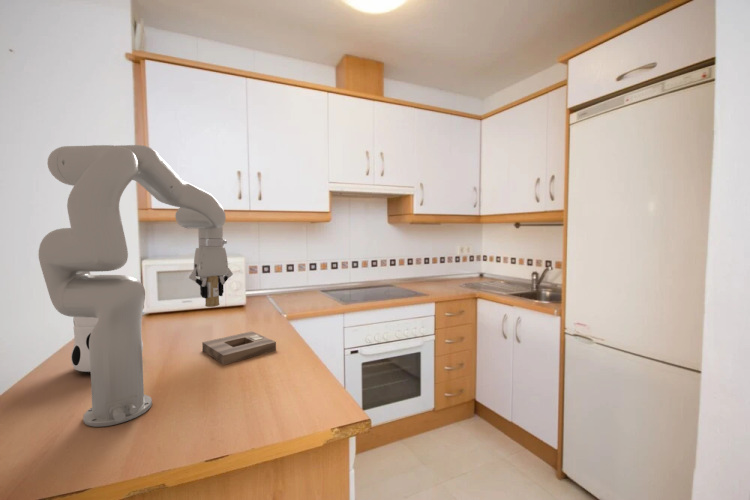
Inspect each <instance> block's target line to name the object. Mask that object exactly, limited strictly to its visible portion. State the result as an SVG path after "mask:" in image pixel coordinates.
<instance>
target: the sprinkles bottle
mask: <svg viewBox="0 0 750 500" xmlns="http://www.w3.org/2000/svg"><path fill="white" fill-rule="evenodd" d="M214 273H215V272H214ZM206 286H207V296H208V297H207V298H204V299H205V304H204V306H205V307H208V308H214V307H218V306H220V296H219V282H218V276H211V277H207V280H206Z"/></svg>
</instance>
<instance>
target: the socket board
mask: <svg viewBox="0 0 750 500" xmlns="http://www.w3.org/2000/svg"><path fill="white" fill-rule="evenodd" d="M201 343H202V352H204V353H205V354H207V355H208V356H210V357H211V358H213V359H215V360H216V361H218V363H220V364H221V365H223V366H224V365H228V364H232V363H235V362H238V361H242V360H246V359H249V358H252V357H253V358H254V357H257V356H261V355H264V354H269V353H272V352H275V351H277V341H275V340H273V339H270V338H268V337H266V336H264V335H261V334H259V333H256V332H254V331H252V330H251V331H247V332H243V333H239V334H233V335H228V336H223V337H220V338H216V339H211V340H210V339H209V340H206V341H202V342H201Z"/></svg>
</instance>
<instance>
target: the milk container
mask: <svg viewBox="0 0 750 500" xmlns="http://www.w3.org/2000/svg"><path fill="white" fill-rule="evenodd" d="M97 321H98V318H94V317H73V335H74V343H73V346H72V349H71V355H70V360H71V364H72V367H73V369H74V370H75V372H79V373H82V374H91V371H90V351H89V338H90V335H91V332H92V330H93V329H94V327H95V325H96V324H97ZM143 351H144V343H143V341H142V352H143Z"/></svg>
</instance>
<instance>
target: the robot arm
mask: <svg viewBox="0 0 750 500" xmlns="http://www.w3.org/2000/svg"><path fill="white" fill-rule="evenodd" d="M47 168H48V171H49V172H50V173H51V175H52V176H53V178H55V179H56V180H58V181H59V182H61V184H62V183H63V184H65V185H68V186H73V187H72V189H71V191H70V193H69V195H68V197H67V198H68V199H67V204H66V208H67V214H68V218H69V219H68V220H69V225H70V227H64V228H62V227H61V228H57V229H53V230H51V231H50V232H48V233H47V234H46V235H45V236H43V238H42V239H41V242H40V243H39V248H38V260H39V265H40V268H41V271H42V275H43V279H44V282H45V286H46V289H47V292H48V295H49V296H48V297H49V298H50V301H51V303H52V305H53V307H54V309H55V311H57V312H58V313H59V314H61V315H62V316H63V315H64V316H65V317H70V318H71V317H73V318H74V317H94V318H98V321H97V324H96V325H95V327H94V329H93V330H92V332H91V335H90V338H89V351H90V371H91V373H90V387H91V406H92V407H91V408H89V409H88V410H87V411H85V412H84V414H83V420H82V421H83V424H85V425H86V426H88V427H94V428H95V427H97V428H98V427H99V428H100V427H102V428H103V427H110V426H114V425H115V426H116V425H118V424H123V423H125V422H128V421H131V420H134V419H136V418H138V417H139V416H141V415H143V414H145V413H147V411H148V410H149V409H150V408H151V407H152V405H153V400H152V397H151V396H150V395H148V394H145V388H144V385H145V384H144V368H143V367H144V366H143V365H144V364H143V363H144V362H143V351H142V342H143V338H142V318H143V311H144V307H145V299H146V289H145V287H144V284H143V283H142V282H141V281H140V280H139V279H137V278H135V277H133V276H130V275H129V276H128V275H122V274H96V275H95V274H91V272H111V271H115V270H119V269H121V268H123V267H124V266H125V265H126V264H127V262H128V258H129V252H128V246H127V240H126V237H125V230H124V226H123V222H122V217H121V212H120V202H121V201H120V200H121V197H122V195H123V193H124V191H125V190H126V188H127V187H128V185H129V184H130V183H131V182H132V181H135V182H137V183H138V184H139V185H140V186H141V187H142V188H144V189H145V190H146V191H147V192H148V193H149V194H150V195H151V196H152V197H154V198H155V199H156V200H157V201H158V202H159V203H162V204H165V205H169V206H172V207H175V208H177V210H176V211H175V215H174V217H175V220H176V223H177V224H178V225H179V226H180V227H182V228H184V229H190V230H192V229H193V230H196V229H197V230H198V231H197V233H198V235H197V236H198V247H196V248H195V252H194V259H193V270H192V272H191V273H190V275H189V276H188V279H190V280H191V281H193V282H194V283H196V284H197V285H198V286H199V287H200V288H199V290H200V291H199V292H200V297H201V298H202V299H205V298H207V297H208V296H207V286H206V280H207V277H211V276H218V282H219V297H223V294H224V292H225V291H224V285H225V284H226V282H227V281H228V280H229V279H230V278H231V277H232V276H233V275H234V273H233V271H232V270H231V269H230V267H229V263H228V262H229V261H228V256H227V250H226V247H224V245H226V244H228V242H227V239H224V236H223V235H224V232H223V228H224V227H223V226H224V224H225V223H226V212H225V210H224V208H223V206H222V204H221V203H220V202H219V201H218V200H217V199H216V198H215V197H214V195H212V194H211V193H210V192H207V191H205V190H204V189H202V188H199V186H195V185H194V184H191V183H189V182H187V181H184V180H182V178H180V176H179V175H178V174H177V173H176V172H175V171H174V170H173V169H172V167H171V166H170V165H169V164H168V162H166V161H165V160H164V159H163V158H162V157H161V155H159V153H158V152H157V151H156V150H154V149H153V148H151V147H149V146H147V145H141V144H139V145H138V144H129V145H125V144H124V145H122V144H121V145H112V144H109V145H108V144H107V145H105V144H102V145H101V144H100V145H99V144H97V145H94V144H93V145H66V146H60V147H57V148H55V149H54V150H52V151H51V152H50V154H49V155H48V158H47ZM214 272H215V273H214ZM198 277H199V278H198Z"/></svg>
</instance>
